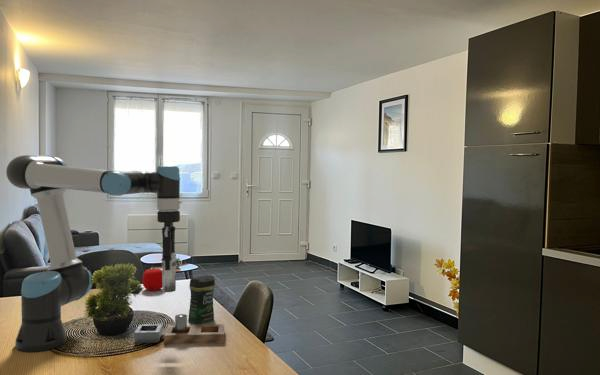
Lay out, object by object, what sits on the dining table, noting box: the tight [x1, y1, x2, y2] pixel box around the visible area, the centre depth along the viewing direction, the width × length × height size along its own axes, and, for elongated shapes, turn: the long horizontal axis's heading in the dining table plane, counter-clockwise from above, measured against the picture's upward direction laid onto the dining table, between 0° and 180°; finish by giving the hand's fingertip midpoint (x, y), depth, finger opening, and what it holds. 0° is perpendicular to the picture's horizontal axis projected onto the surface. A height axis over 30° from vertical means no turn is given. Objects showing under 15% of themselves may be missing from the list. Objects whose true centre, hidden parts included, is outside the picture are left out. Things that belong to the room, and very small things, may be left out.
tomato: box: [141, 267, 163, 291], centre depth 231 cm, size 10×11×11 cm
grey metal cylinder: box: [161, 252, 177, 293], centre depth 164 cm, size 5×5×13 cm
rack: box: [163, 323, 225, 345], centre depth 166 cm, size 20×10×4 cm, turn 98°
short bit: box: [174, 313, 188, 333], centre depth 165 cm, size 4×4×8 cm
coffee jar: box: [187, 274, 216, 325], centre depth 185 cm, size 10×8×19 cm
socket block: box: [133, 323, 163, 344], centre depth 165 cm, size 8×8×4 cm
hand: (169, 277), depth 164 cm, fingers closed on grey metal cylinder, 5 cm apart
